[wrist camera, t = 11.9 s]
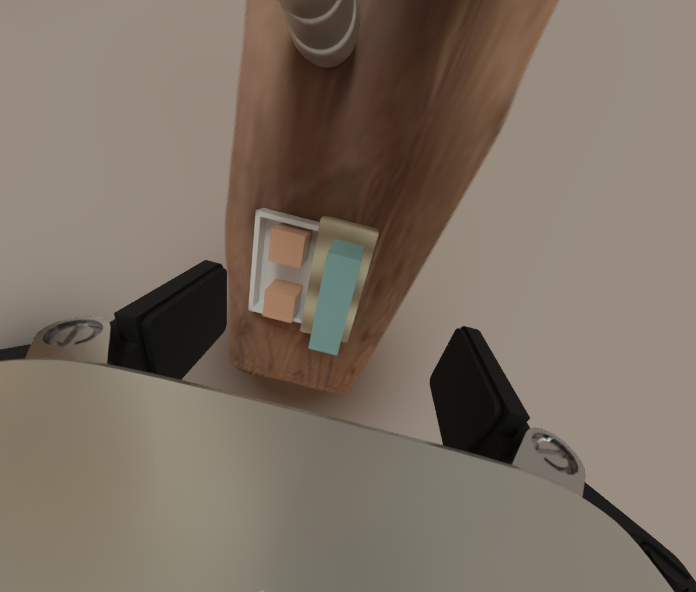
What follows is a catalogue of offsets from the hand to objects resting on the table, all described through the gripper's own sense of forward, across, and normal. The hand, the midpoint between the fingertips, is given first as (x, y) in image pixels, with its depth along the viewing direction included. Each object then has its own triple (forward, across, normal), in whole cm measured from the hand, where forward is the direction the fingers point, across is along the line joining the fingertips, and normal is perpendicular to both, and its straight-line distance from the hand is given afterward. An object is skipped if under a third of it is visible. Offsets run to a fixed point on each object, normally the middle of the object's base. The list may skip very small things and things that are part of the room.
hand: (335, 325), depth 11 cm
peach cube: (+22, +6, +14) cm, 26 cm away
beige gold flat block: (+24, +1, +10) cm, 26 cm away
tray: (+24, +9, +10) cm, 28 cm away
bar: (+21, +1, +9) cm, 23 cm away
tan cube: (+22, +6, +6) cm, 24 cm away
